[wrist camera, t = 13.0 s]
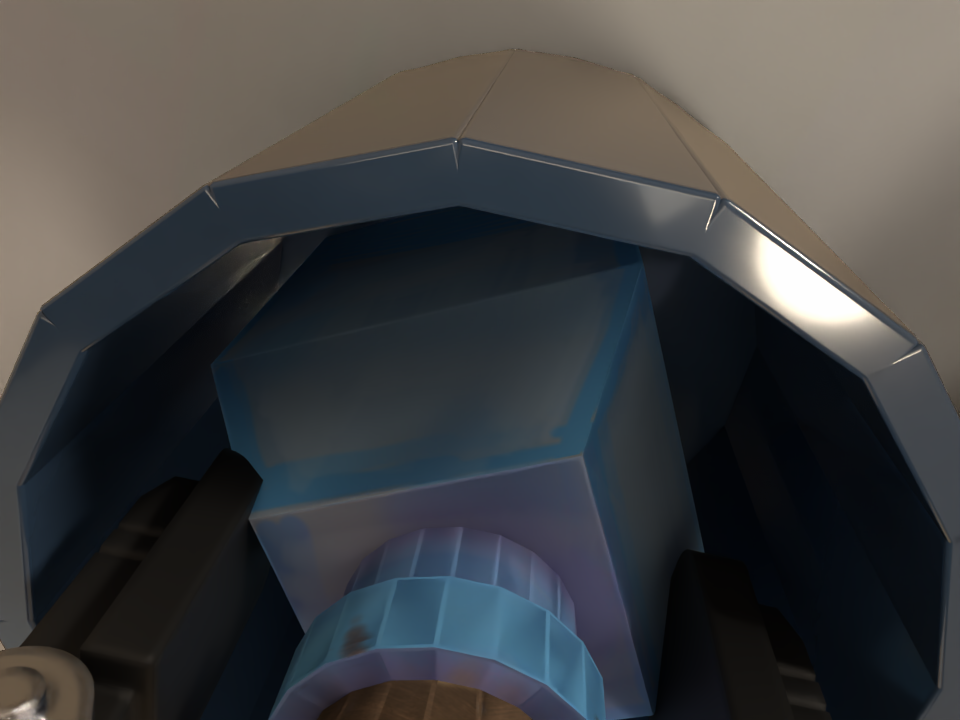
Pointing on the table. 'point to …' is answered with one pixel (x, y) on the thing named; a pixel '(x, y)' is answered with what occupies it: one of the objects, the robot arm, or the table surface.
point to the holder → (680, 324)
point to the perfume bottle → (464, 471)
